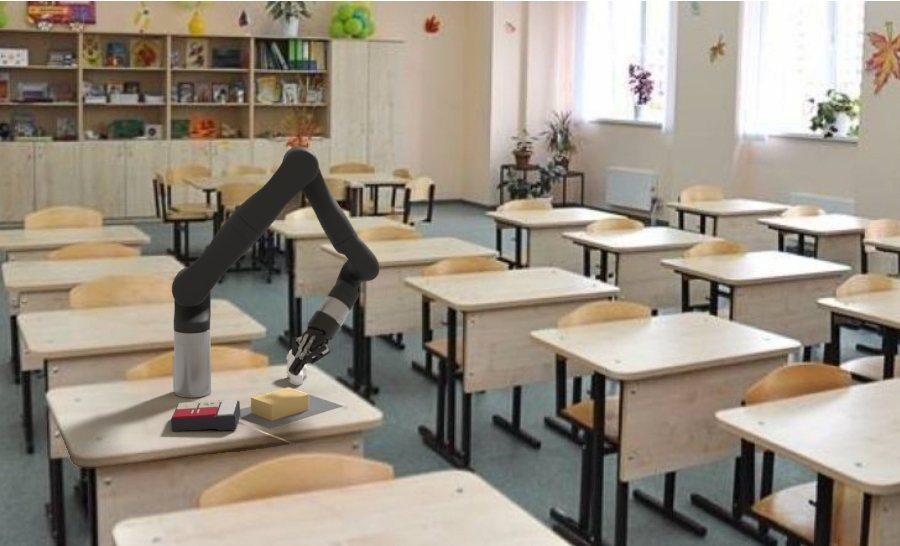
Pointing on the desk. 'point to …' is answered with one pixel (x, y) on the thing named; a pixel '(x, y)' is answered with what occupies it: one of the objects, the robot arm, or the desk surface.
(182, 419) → the red and grey box
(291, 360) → the white figurine
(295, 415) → the charcoal mat
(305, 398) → the ochre block
